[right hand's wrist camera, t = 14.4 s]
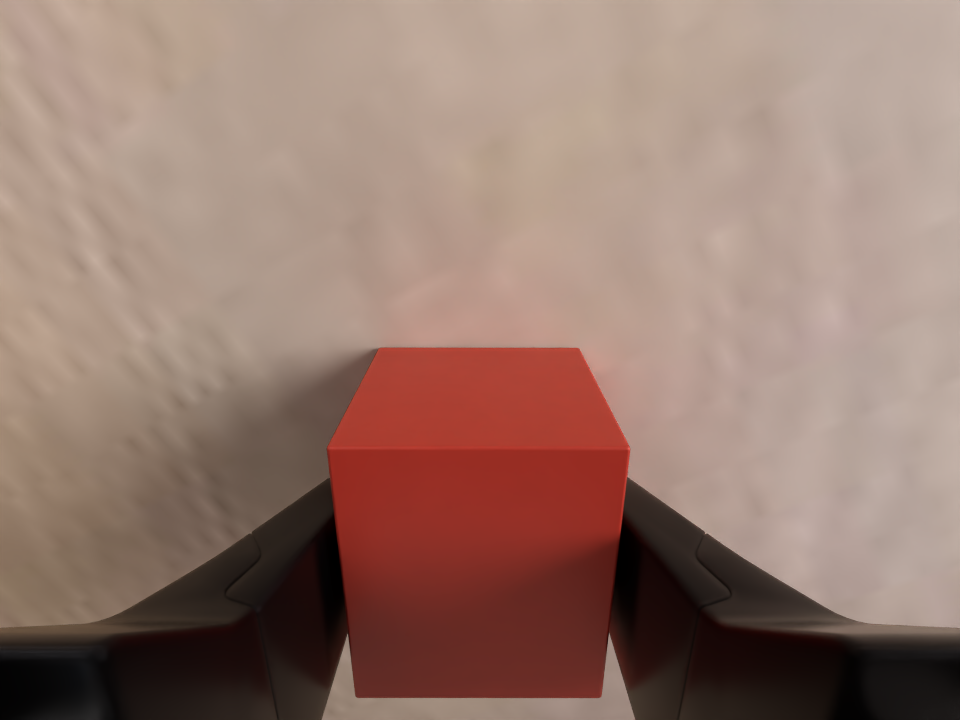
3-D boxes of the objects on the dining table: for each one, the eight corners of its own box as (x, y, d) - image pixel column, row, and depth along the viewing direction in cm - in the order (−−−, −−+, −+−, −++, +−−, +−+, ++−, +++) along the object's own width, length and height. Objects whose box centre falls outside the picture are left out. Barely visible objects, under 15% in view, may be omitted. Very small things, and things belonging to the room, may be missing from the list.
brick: (579, 347, 12) (631, 447, 8) (565, 537, 13) (601, 699, 9) (378, 346, 12) (325, 447, 8) (391, 537, 13) (354, 699, 9)
